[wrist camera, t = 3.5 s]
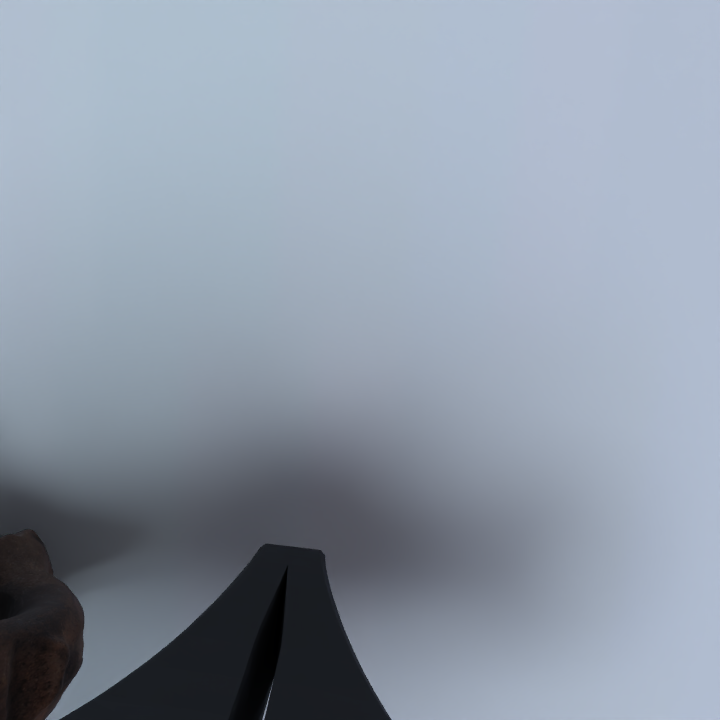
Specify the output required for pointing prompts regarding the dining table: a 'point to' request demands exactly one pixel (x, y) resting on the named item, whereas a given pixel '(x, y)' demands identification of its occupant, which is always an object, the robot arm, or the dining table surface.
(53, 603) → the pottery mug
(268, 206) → the dining table surface
